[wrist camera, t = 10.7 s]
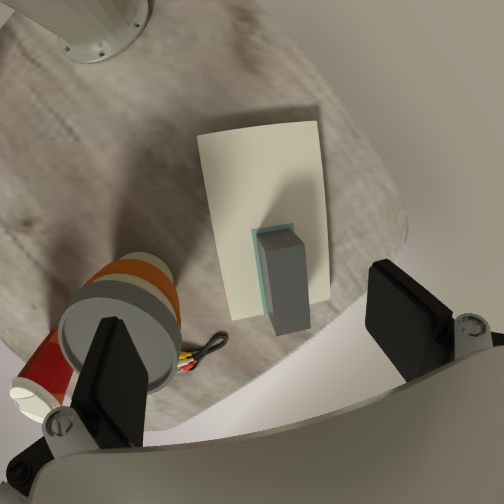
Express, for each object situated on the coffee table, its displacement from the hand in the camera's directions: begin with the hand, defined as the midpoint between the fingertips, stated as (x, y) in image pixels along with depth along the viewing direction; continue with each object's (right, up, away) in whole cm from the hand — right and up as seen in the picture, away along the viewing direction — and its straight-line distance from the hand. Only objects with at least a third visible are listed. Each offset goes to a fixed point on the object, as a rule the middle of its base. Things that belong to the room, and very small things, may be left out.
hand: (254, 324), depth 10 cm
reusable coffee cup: (-15, -1, +28) cm, 31 cm away
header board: (+2, +6, +27) cm, 28 cm away
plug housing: (+3, 0, +27) cm, 27 cm away
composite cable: (-8, -13, +33) cm, 36 cm away
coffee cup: (-30, -12, +29) cm, 44 cm away
